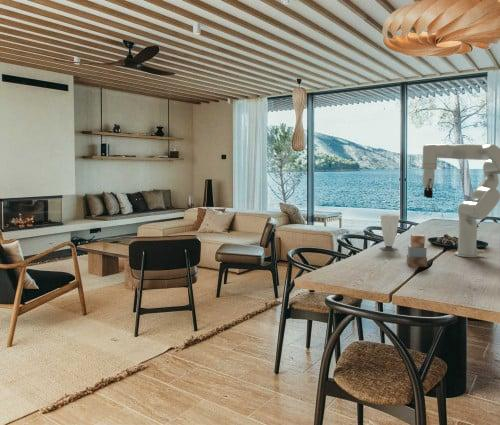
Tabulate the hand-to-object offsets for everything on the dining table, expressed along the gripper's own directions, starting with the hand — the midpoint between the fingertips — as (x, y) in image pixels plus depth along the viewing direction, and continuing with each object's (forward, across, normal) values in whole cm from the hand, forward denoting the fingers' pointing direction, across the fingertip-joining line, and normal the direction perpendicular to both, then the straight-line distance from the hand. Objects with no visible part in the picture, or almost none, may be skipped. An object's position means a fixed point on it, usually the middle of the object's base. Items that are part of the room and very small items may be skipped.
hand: (428, 197), depth 254 cm
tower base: (+35, +22, -7) cm, 41 cm away
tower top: (+30, +21, -7) cm, 37 cm away
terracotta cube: (+25, +22, -7) cm, 34 cm away
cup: (+34, -21, -19) cm, 45 cm away
